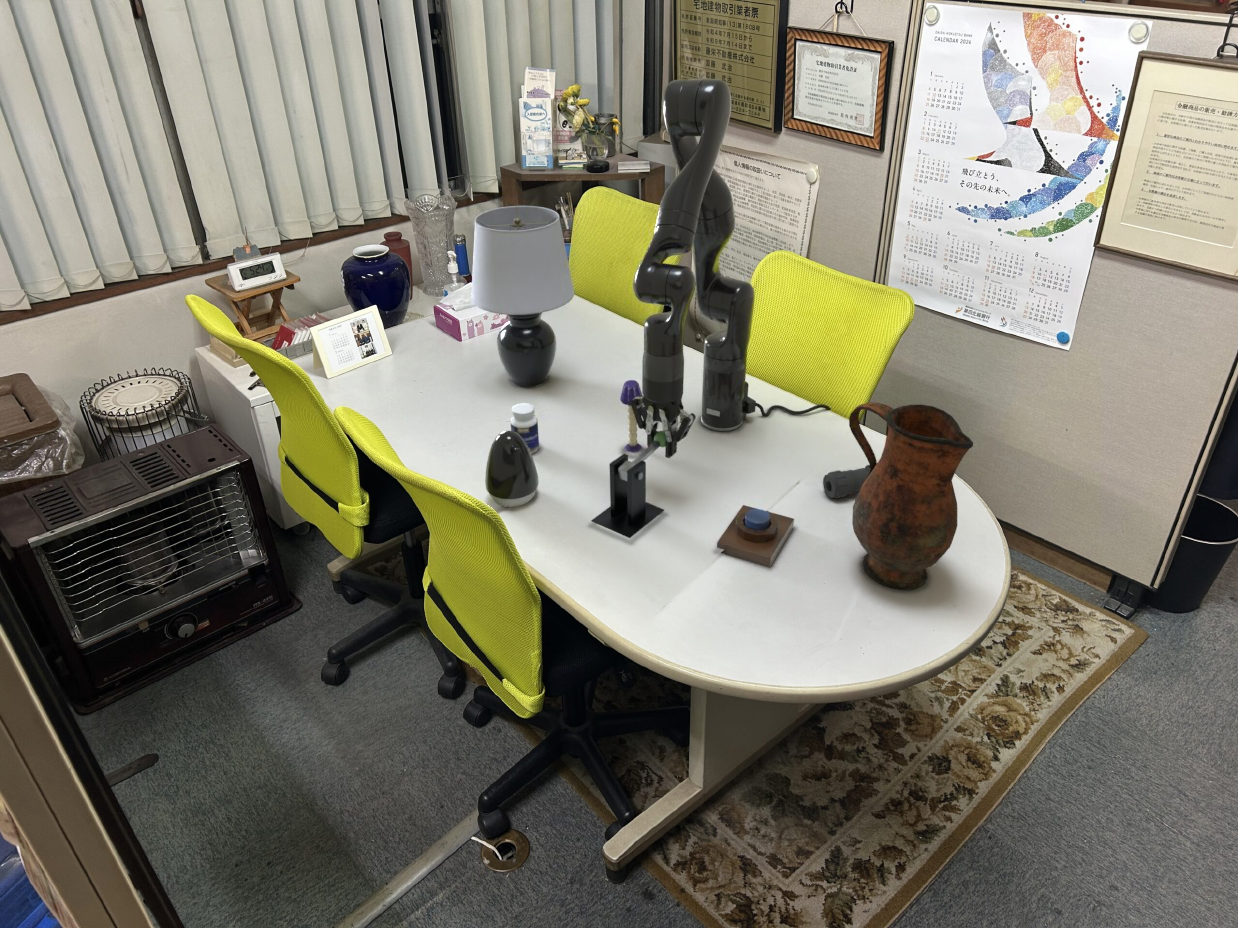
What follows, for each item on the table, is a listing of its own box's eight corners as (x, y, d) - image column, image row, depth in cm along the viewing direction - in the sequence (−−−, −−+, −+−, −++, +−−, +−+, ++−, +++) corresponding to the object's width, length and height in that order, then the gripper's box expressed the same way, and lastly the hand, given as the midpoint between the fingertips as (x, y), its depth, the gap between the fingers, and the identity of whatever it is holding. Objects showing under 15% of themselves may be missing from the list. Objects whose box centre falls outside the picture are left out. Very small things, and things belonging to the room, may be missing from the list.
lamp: (596, 371, 221) (591, 212, 200) (539, 411, 204) (527, 241, 183) (520, 351, 232) (508, 197, 211) (460, 387, 215) (440, 224, 194)
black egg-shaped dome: (499, 521, 168) (491, 452, 160) (480, 493, 176) (472, 427, 168) (548, 506, 172) (543, 438, 164) (527, 480, 180) (522, 414, 172)
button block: (742, 514, 169) (743, 496, 167) (793, 528, 165) (795, 510, 163) (716, 551, 159) (717, 533, 157) (769, 567, 155) (771, 549, 153)
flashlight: (832, 505, 171) (835, 481, 168) (819, 490, 175) (821, 467, 172) (902, 490, 175) (906, 467, 172) (887, 476, 179) (891, 453, 176)
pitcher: (910, 616, 144) (943, 459, 128) (805, 556, 157) (824, 407, 142) (965, 573, 153) (1002, 421, 137) (861, 519, 167) (884, 376, 151)
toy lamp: (640, 459, 186) (640, 388, 177) (619, 457, 187) (617, 386, 178) (644, 448, 190) (645, 378, 181) (623, 446, 191) (622, 376, 182)
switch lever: (660, 438, 171) (659, 425, 169) (674, 443, 169) (673, 430, 167) (617, 479, 163) (615, 465, 161) (631, 484, 161) (629, 471, 159)
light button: (749, 514, 162) (750, 506, 161) (772, 520, 161) (773, 512, 160) (741, 527, 159) (741, 519, 158) (764, 533, 157) (765, 525, 156)
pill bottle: (520, 458, 187) (516, 417, 182) (508, 446, 191) (504, 406, 186) (544, 450, 189) (541, 409, 184) (531, 439, 194) (528, 398, 188)
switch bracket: (626, 498, 174) (626, 442, 167) (664, 514, 169) (665, 457, 162) (591, 525, 166) (589, 467, 159) (629, 542, 162) (629, 484, 155)
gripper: (707, 374, 159) (703, 456, 169) (643, 354, 167) (643, 434, 176) (683, 389, 154) (681, 473, 164) (619, 368, 162) (620, 449, 171)
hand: (661, 452), depth 170 cm, fingers closed on switch lever, 3 cm apart
